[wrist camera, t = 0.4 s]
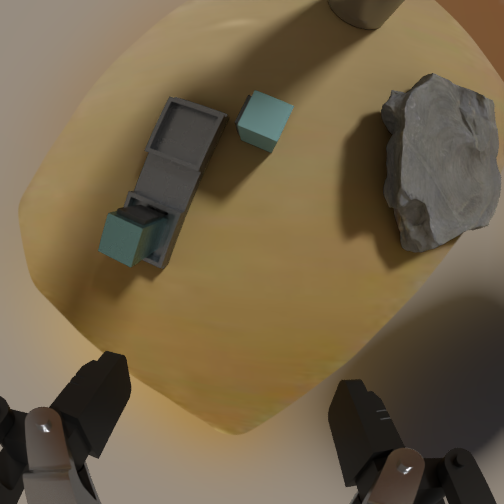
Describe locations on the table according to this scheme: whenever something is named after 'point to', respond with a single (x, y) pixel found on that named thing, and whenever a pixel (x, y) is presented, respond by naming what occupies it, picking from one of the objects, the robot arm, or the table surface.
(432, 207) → the stone
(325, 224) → the table surface
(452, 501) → the robot arm
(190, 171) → the grey block holder
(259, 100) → the block
